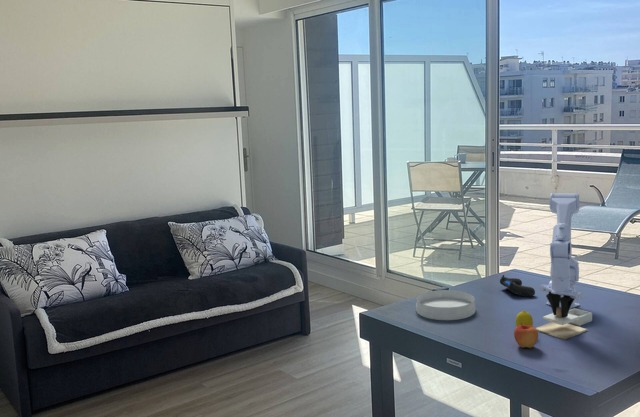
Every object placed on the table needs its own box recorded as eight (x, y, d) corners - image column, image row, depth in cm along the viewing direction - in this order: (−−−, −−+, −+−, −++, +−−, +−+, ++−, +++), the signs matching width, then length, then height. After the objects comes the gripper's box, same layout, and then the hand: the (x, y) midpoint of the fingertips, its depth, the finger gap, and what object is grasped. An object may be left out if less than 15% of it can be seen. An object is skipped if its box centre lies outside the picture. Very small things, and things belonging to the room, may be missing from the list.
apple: (540, 351, 200) (540, 327, 199) (515, 351, 201) (515, 327, 200) (536, 342, 207) (536, 319, 206) (512, 342, 208) (512, 319, 207)
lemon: (524, 337, 212) (524, 314, 211) (512, 332, 217) (511, 310, 216) (536, 334, 214) (536, 311, 213) (524, 329, 219) (524, 307, 218)
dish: (451, 325, 228) (450, 311, 227) (404, 312, 245) (403, 299, 244) (487, 309, 242) (487, 296, 242) (440, 298, 259) (440, 286, 258)
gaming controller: (514, 291, 270) (494, 281, 268) (521, 279, 269) (501, 269, 268) (531, 303, 253) (510, 292, 252) (538, 291, 253) (517, 280, 251)
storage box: (562, 320, 226) (562, 312, 225) (574, 316, 230) (574, 308, 229) (579, 325, 220) (579, 317, 219) (592, 320, 224) (592, 312, 223)
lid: (542, 321, 217) (542, 308, 216) (557, 315, 222) (557, 302, 221) (563, 327, 211) (563, 313, 210) (578, 321, 215) (578, 308, 214)
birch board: (534, 329, 218) (534, 328, 218) (556, 321, 225) (556, 320, 225) (564, 339, 208) (564, 337, 208) (587, 330, 215) (587, 329, 215)
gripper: (534, 274, 217) (534, 313, 220) (572, 283, 205) (571, 323, 208) (548, 270, 221) (547, 308, 223) (585, 278, 209) (585, 318, 211)
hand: (560, 315), depth 216 cm, fingers closed on lid, 3 cm apart
